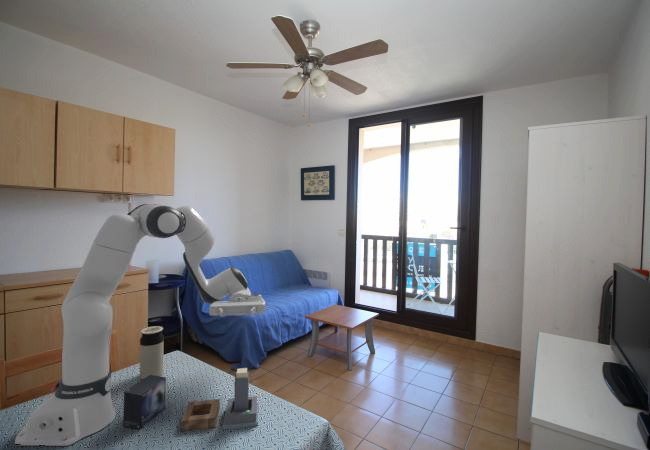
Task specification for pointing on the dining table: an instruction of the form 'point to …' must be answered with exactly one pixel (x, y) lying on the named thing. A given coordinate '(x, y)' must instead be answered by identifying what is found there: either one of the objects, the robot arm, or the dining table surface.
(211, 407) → the frame
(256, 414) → the dock
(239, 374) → the plug
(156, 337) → the travel mug
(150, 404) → the small box
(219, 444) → the dining table surface
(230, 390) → the dining table surface
